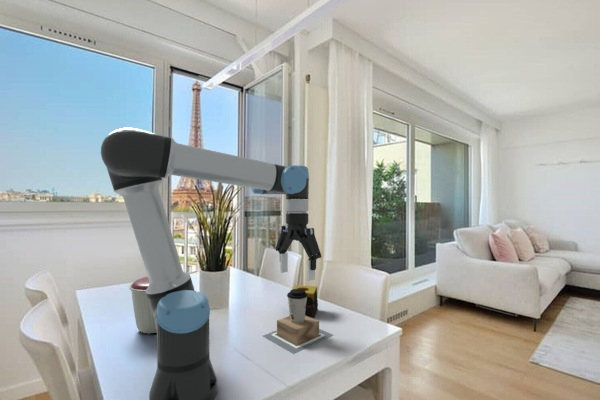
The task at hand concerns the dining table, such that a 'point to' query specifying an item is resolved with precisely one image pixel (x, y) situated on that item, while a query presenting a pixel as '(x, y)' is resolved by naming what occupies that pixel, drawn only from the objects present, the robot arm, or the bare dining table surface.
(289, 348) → the gray placemat
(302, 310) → the coffee cup
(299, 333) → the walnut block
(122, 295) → the dining table surface
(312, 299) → the candle
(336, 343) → the dining table surface
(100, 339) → the dining table surface
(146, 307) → the canister
